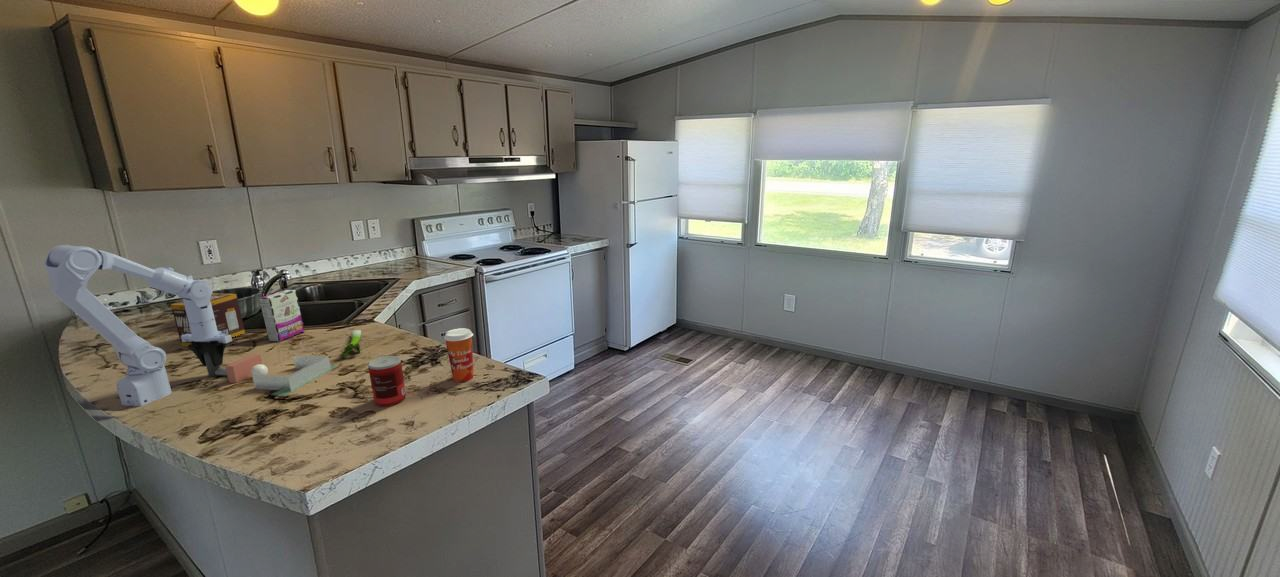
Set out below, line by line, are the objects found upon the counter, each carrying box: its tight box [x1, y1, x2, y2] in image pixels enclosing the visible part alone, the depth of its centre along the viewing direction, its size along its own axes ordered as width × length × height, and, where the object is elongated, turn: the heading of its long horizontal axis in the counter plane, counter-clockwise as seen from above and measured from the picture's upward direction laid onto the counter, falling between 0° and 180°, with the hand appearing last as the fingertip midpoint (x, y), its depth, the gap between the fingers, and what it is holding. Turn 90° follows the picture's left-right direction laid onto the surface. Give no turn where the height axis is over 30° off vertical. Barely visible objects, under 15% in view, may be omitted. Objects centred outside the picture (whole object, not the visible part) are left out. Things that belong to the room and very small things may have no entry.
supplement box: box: [170, 293, 246, 348], centre depth 183 cm, size 10×15×16 cm
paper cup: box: [443, 327, 474, 383], centre depth 145 cm, size 8×8×14 cm
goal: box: [251, 355, 331, 392], centre depth 146 cm, size 15×11×4 cm
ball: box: [251, 363, 269, 377], centre depth 147 cm, size 4×4×4 cm
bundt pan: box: [180, 286, 264, 319], centre depth 210 cm, size 26×26×10 cm
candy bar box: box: [259, 289, 306, 343], centre depth 184 cm, size 11×5×16 cm, turn 168°
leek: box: [340, 329, 363, 359], centre depth 173 cm, size 6×7×30 cm
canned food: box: [367, 355, 407, 407], centre depth 133 cm, size 8×8×11 cm
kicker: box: [203, 352, 263, 384], centre depth 148 cm, size 9×13×7 cm
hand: (213, 365), depth 149 cm, fingers closed on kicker, 3 cm apart
